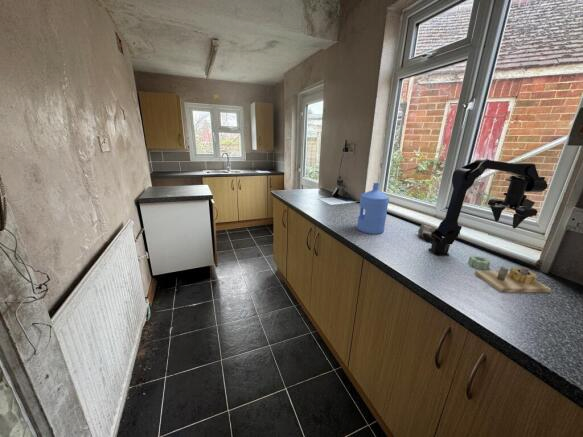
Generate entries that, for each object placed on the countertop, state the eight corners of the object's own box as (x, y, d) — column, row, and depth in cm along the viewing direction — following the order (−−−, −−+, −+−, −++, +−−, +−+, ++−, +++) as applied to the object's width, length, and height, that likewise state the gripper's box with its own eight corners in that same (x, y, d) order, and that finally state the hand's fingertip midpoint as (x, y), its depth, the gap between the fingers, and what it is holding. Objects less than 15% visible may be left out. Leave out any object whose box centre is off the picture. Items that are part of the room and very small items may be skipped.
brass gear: (528, 286, 84) (531, 279, 83) (504, 276, 90) (507, 269, 90) (538, 282, 87) (541, 275, 86) (514, 272, 93) (517, 265, 92)
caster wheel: (438, 247, 124) (417, 242, 127) (435, 236, 133) (416, 231, 136) (443, 237, 120) (422, 232, 123) (440, 226, 129) (421, 221, 132)
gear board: (500, 292, 83) (505, 277, 81) (474, 273, 95) (478, 260, 93) (549, 292, 84) (555, 277, 82) (517, 274, 95) (522, 260, 93)
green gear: (476, 269, 98) (478, 263, 97) (464, 261, 105) (465, 255, 104) (492, 269, 98) (495, 263, 97) (479, 261, 105) (481, 255, 104)
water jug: (386, 228, 143) (393, 182, 134) (380, 236, 130) (388, 187, 121) (361, 223, 151) (366, 180, 142) (353, 230, 138) (358, 183, 129)
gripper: (556, 196, 95) (542, 232, 100) (514, 187, 113) (504, 218, 118) (529, 196, 95) (517, 232, 100) (491, 187, 112) (482, 218, 117)
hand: (504, 224), depth 109 cm, fingers open, 9 cm apart
